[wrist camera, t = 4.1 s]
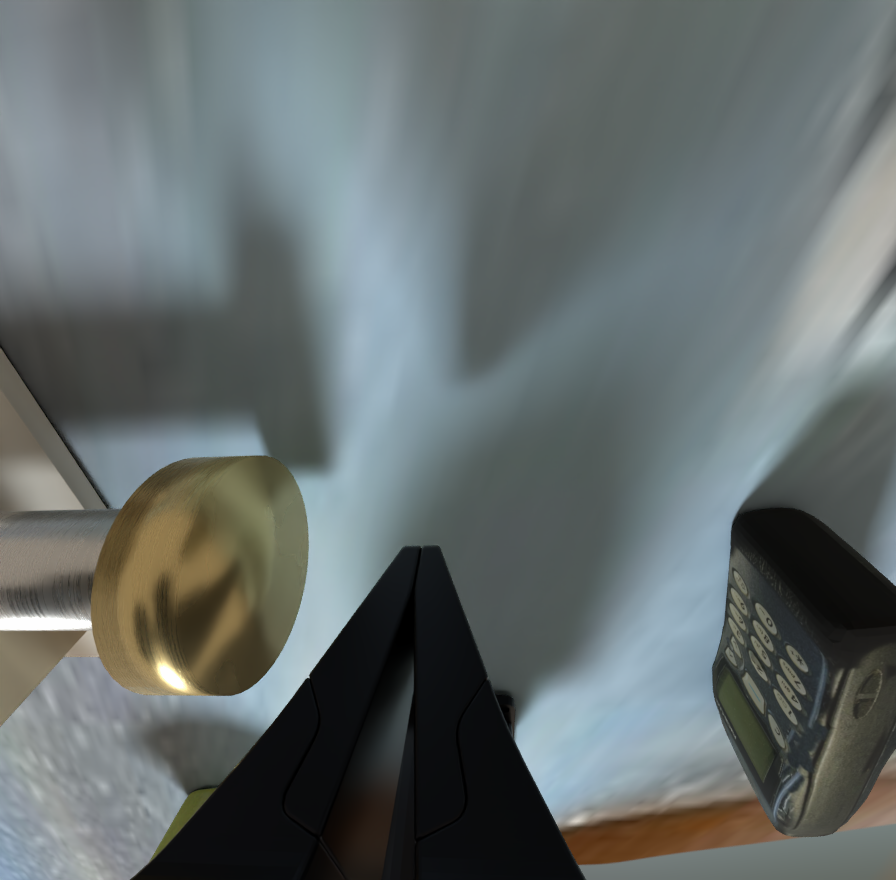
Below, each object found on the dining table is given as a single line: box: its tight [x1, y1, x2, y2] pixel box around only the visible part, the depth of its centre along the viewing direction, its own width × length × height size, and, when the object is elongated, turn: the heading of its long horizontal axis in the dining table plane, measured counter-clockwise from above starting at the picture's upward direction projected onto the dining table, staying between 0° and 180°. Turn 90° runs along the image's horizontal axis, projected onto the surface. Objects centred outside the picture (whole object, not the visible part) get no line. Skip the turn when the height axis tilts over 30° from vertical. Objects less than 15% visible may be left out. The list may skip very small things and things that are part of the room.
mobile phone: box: [712, 508, 896, 837], centre depth 14 cm, size 5×3×15 cm
